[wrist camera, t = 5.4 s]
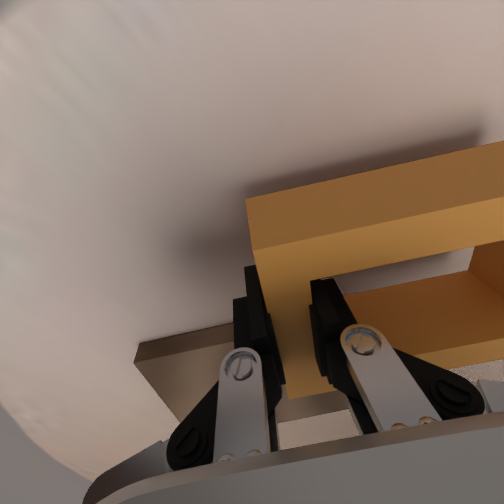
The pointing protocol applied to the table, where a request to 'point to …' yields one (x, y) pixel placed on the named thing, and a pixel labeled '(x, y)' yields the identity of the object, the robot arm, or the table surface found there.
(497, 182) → the link
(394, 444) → the robot arm
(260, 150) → the table surface
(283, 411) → the plate
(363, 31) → the table surface
